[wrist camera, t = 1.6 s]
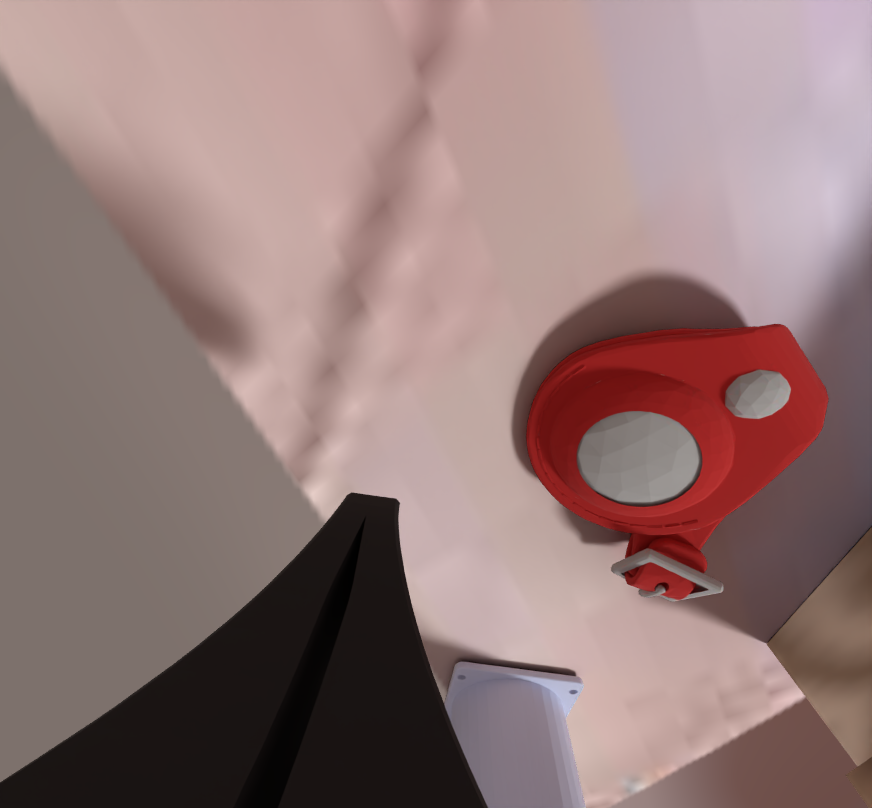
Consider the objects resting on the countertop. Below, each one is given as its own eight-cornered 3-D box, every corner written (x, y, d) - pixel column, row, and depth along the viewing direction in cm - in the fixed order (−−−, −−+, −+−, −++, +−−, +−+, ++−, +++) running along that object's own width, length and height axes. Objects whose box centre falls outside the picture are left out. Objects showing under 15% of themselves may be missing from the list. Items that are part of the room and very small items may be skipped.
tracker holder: (470, 428, 15) (766, 250, 9) (496, 387, 18) (718, 244, 13) (642, 647, 16) (994, 602, 10) (634, 567, 19) (889, 504, 14)
